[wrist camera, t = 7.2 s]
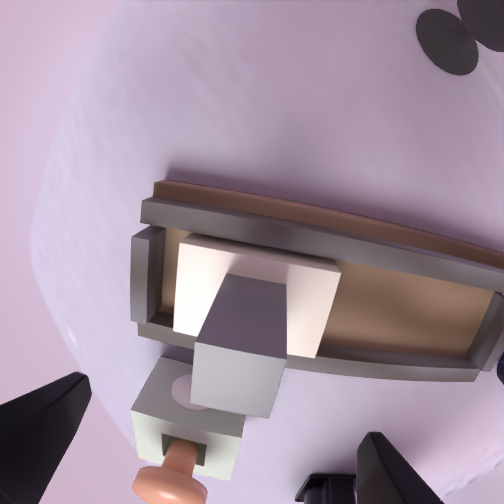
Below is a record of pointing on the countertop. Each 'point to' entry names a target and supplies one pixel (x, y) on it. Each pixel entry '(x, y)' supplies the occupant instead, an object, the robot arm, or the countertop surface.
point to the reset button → (172, 477)
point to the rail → (349, 287)
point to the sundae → (461, 34)
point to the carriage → (248, 317)
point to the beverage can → (501, 366)
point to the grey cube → (184, 421)
